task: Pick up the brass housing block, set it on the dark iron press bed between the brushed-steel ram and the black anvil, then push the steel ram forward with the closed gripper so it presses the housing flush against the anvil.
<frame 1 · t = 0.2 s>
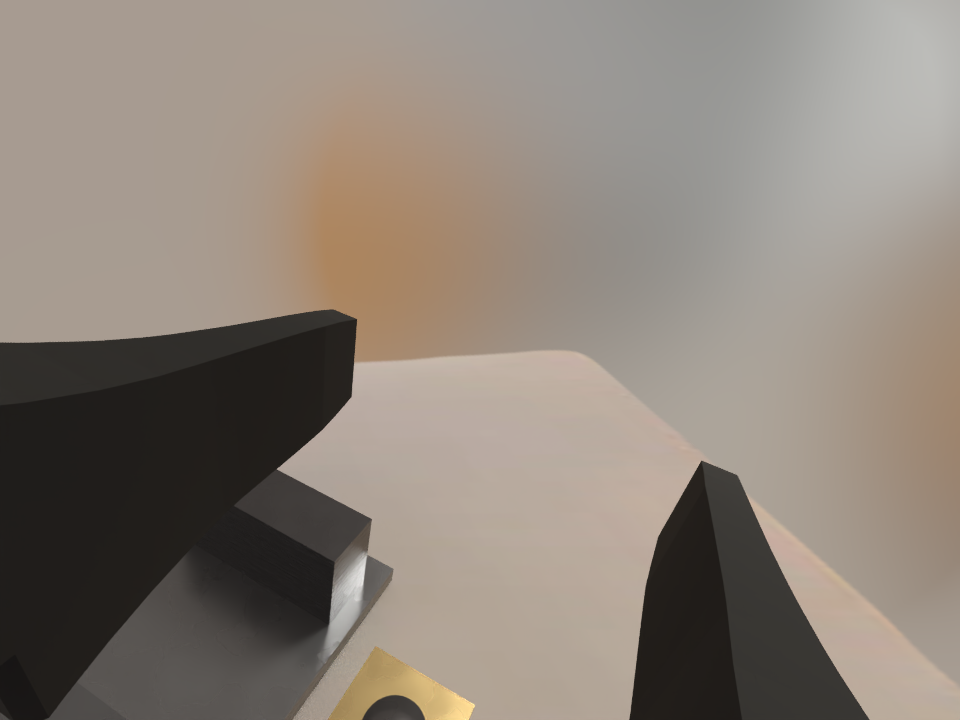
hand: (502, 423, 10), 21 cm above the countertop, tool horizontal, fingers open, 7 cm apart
press bed: (161, 683, 24), on the countertop
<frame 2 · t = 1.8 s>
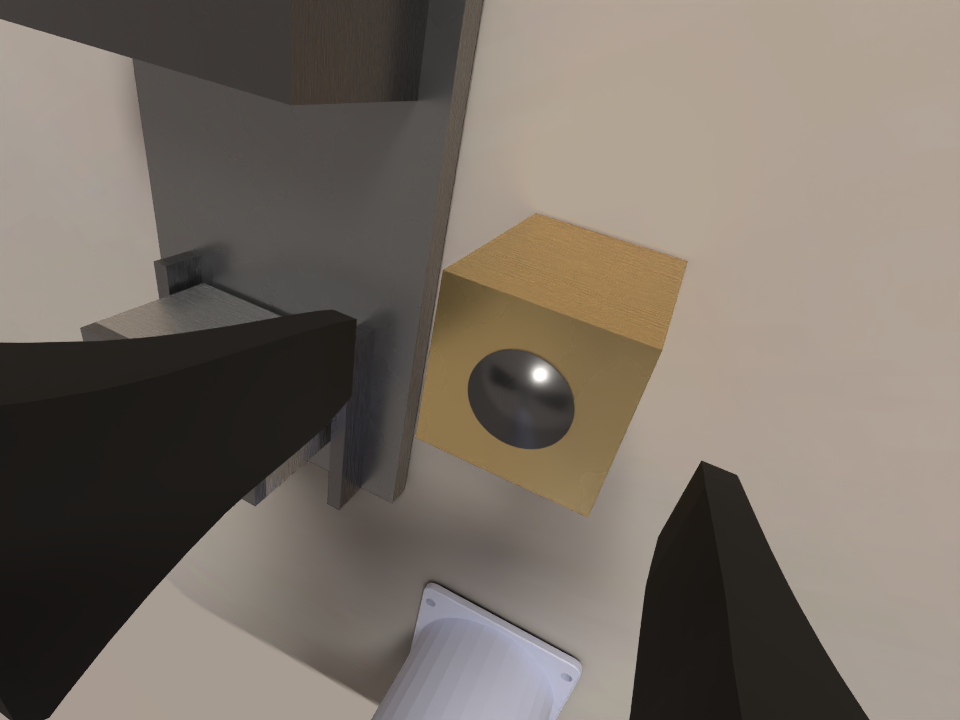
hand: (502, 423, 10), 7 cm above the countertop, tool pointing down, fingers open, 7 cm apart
housing: (585, 306, 16), on the countertop
ram: (227, 384, 19), point 4 cm above the countertop, slide at 0.0 cm
press bed: (295, 230, 19), on the countertop
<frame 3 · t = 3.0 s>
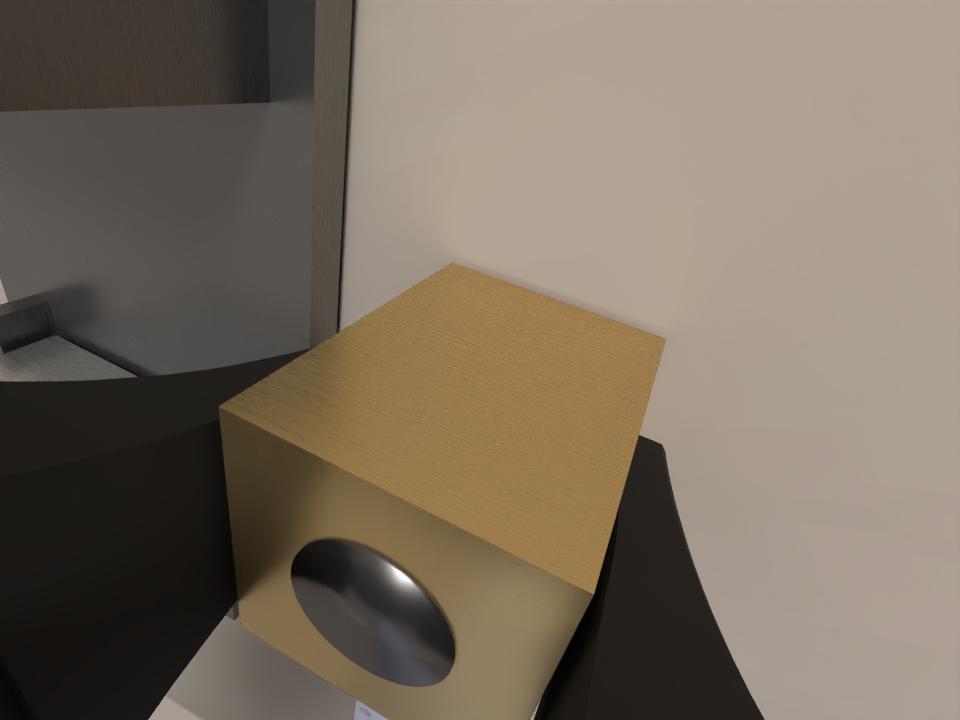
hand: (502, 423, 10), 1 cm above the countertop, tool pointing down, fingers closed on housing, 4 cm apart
housing: (526, 389, 11), on the countertop, touching gripper
ram: (68, 474, 14), point 4 cm above the countertop, slide at 0.0 cm
press bed: (160, 271, 15), on the countertop
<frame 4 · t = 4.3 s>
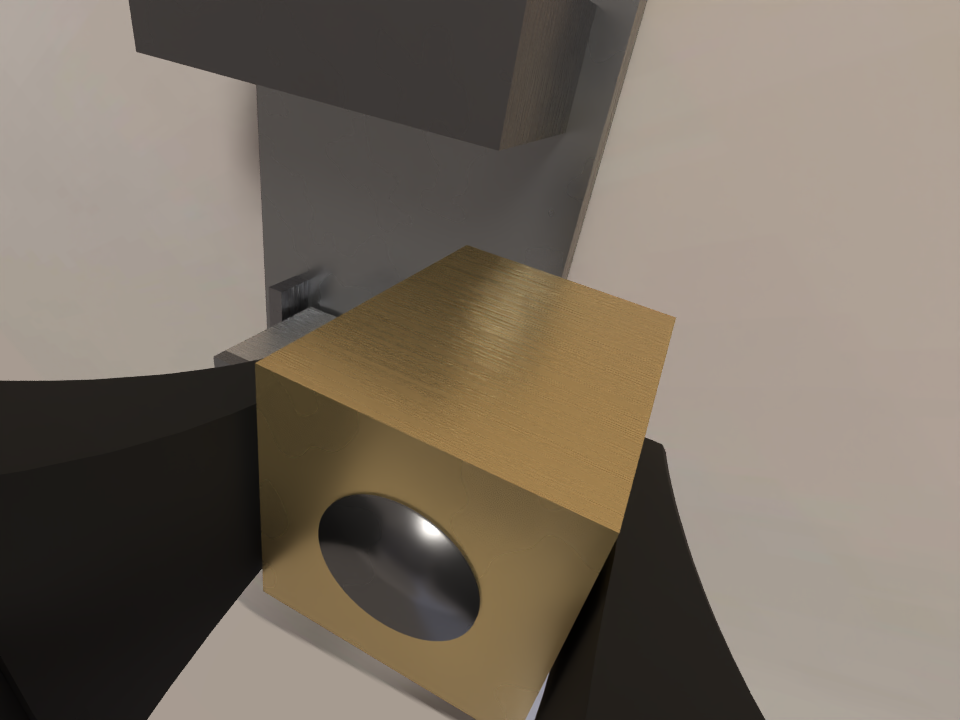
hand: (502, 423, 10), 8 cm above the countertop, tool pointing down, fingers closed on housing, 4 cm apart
housing: (537, 370, 12), point 6 cm above the countertop, touching gripper
ram: (344, 407, 19), point 4 cm above the countertop, slide at 0.0 cm
press bed: (408, 255, 19), on the countertop
when the fingers open (4 cm above the countertop, at t = 6.0 s): housing stays where it is, resting on press bed.
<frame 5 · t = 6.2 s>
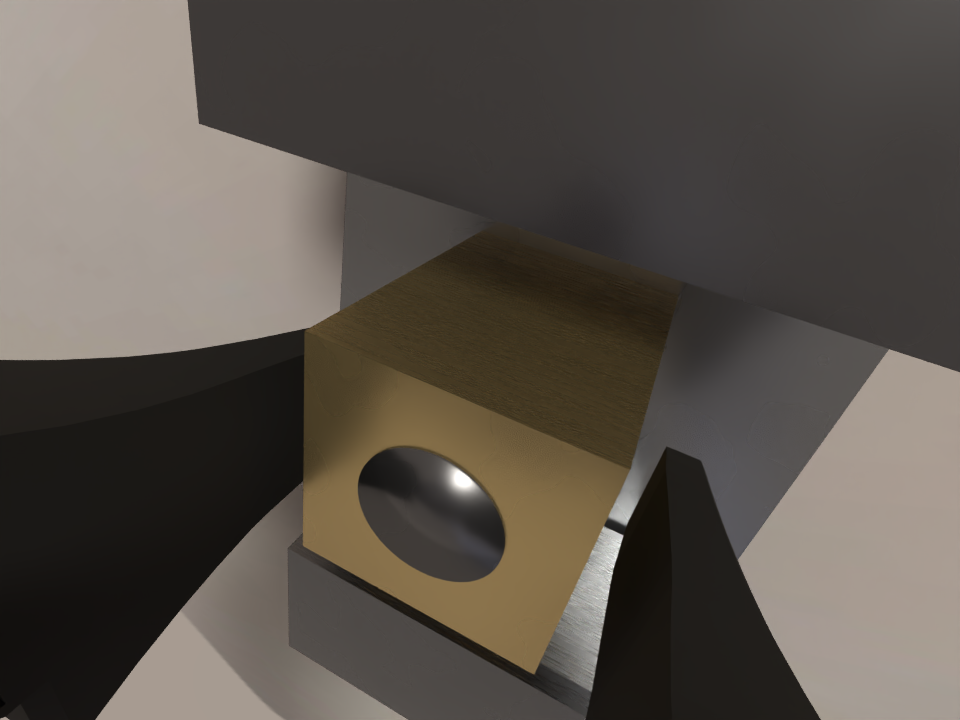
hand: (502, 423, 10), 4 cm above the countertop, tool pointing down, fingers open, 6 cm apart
housing: (549, 348, 12), point 1 cm above the countertop, touching press bed
ram: (459, 591, 14), point 4 cm above the countertop, slide at 0.0 cm
press bed: (548, 375, 14), on the countertop
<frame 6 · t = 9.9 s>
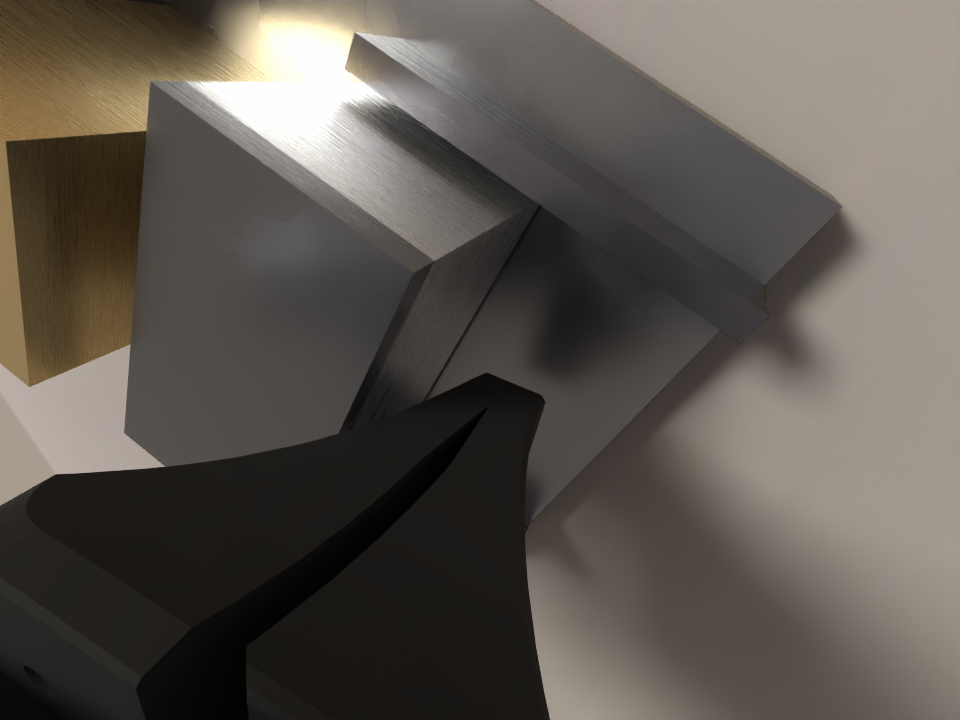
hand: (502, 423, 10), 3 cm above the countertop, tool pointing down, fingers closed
housing: (229, 155, 13), point 1 cm above the countertop, touching press bed
ram: (328, 318, 10), point 4 cm above the countertop, slide at 1.1 cm, touching gripper
press bed: (300, 179, 13), on the countertop
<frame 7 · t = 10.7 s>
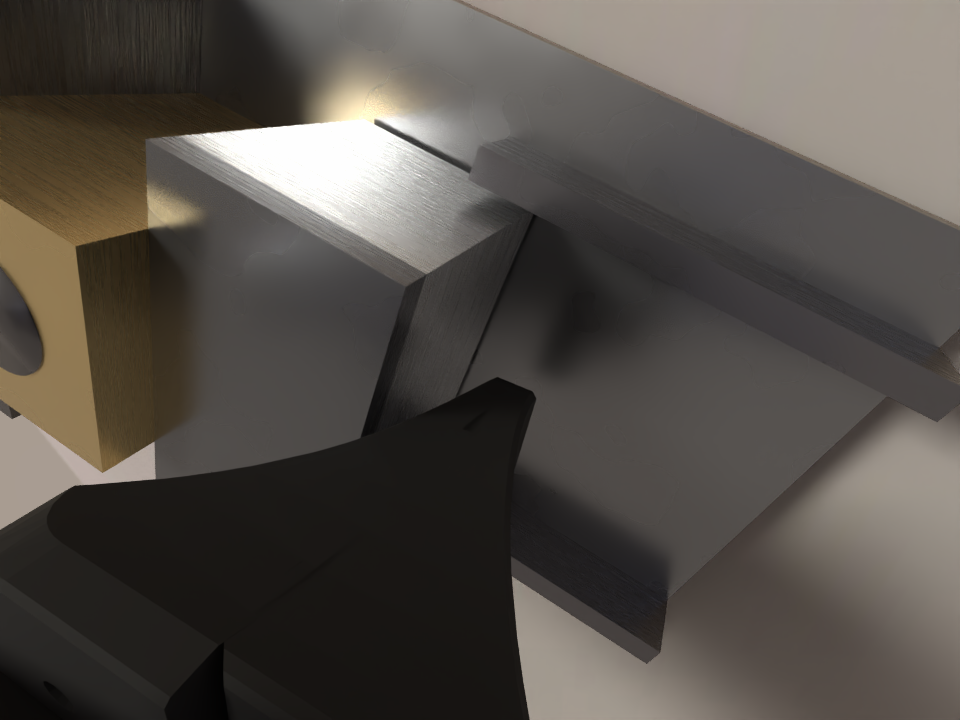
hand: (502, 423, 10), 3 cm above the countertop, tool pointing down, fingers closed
housing: (266, 224, 13), point 1 cm above the countertop, touching press bed, ram
ram: (339, 349, 10), point 4 cm above the countertop, slide at 4.0 cm, touching gripper, housing
press bed: (395, 272, 13), on the countertop
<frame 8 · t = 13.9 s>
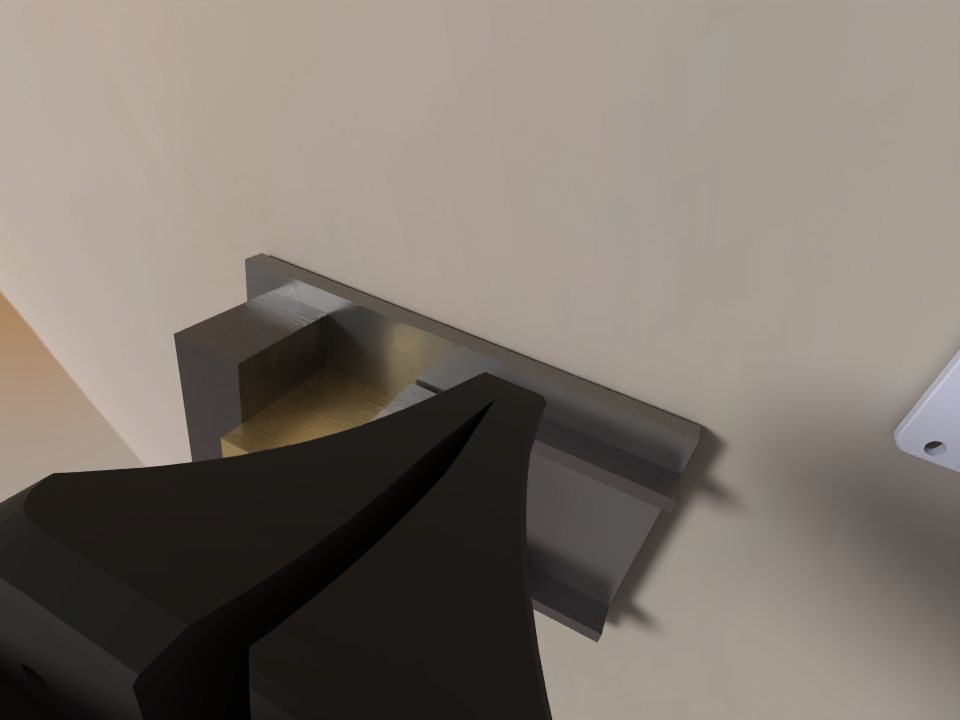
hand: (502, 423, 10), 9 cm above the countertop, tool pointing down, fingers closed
housing: (364, 423, 24), point 1 cm above the countertop, touching press bed, ram
ram: (414, 497, 21), point 4 cm above the countertop, slide at 4.0 cm, touching housing
press bed: (434, 439, 24), on the countertop
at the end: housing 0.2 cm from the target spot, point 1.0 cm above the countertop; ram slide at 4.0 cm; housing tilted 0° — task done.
